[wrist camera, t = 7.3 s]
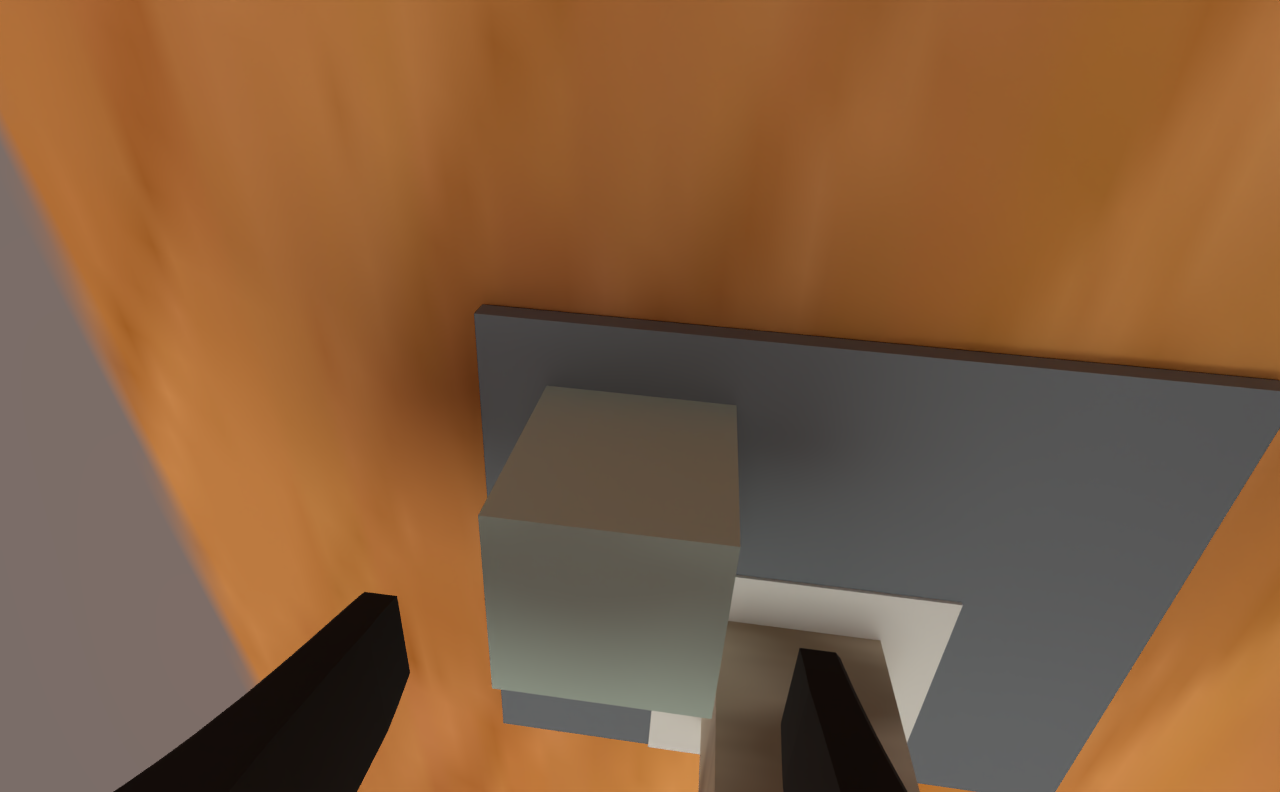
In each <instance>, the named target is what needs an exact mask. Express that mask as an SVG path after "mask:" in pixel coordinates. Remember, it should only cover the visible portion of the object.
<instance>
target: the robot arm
mask: <svg viewBox="0 0 1280 792" xmlns="http://www.w3.org/2000/svg"><path fill="white" fill-rule="evenodd" d="M409 674H410V670H409V664H408V658H407V652H406V647H405V641H404V635H403V629H402V623H401V617H400V611H399V605H398V600H397V596H392V595H384V594H376V593H368V592H364V593H363V594H361V595H360V596H359V597H358V598H357V599H355V600H354V601H353V602H352V603H351V604H350V605H348V606H347V607H346V608H345V609H344V610H343V611H342V612H341V613H339V614H338V615H337V616H336V617H335V618H334V619H333V620H331V621H330V622H329V623H328V624H327V625H326V626H325V627H324V628H322V629H321V630H320V631H319V632H318V633H317V634H316V635H315V636H313V637H312V638H311V639H310V640H309V641H308V642H307V643H305V644H304V645H303V646H302V647H301V648H300V649H298V650H297V651H296V652H295V653H294V654H293V655H292V656H290V657H289V658H288V659H287V660H286V661H284V662H283V663H282V664H281V665H280V666H279V667H277V668H276V669H275V670H274V671H273V672H271V673H270V674H269V675H268V676H267V677H266V678H264V679H263V680H262V681H261V682H260V683H258V684H257V685H256V686H255V687H254V688H252V689H251V690H250V691H249V692H248V693H246V694H245V695H244V696H243V697H241V698H240V699H239V700H238V701H236V702H235V703H234V704H233V705H231V706H230V707H229V708H227V709H226V710H225V711H224V712H222V713H221V714H220V715H218V716H217V717H216V718H215V719H213V720H212V721H211V722H210V723H208V724H207V725H206V726H204V727H203V728H202V729H201V730H199V731H198V732H197V733H196V734H194V735H193V736H192V737H190V738H189V739H187V740H186V741H185V742H183V743H182V744H181V745H179V746H178V747H177V748H175V749H174V750H173V751H171V752H170V753H168V754H167V755H166V756H164V757H163V758H162V759H160V760H159V761H157V762H156V763H155V764H153V765H152V766H150V767H149V768H147V769H146V770H144V771H143V772H142V773H140V774H139V775H137V776H136V777H134V778H133V779H132V780H130V781H129V782H127V783H126V784H125V785H123V786H122V787H120V788H118V789H117V790H115V791H114V792H357V790H358V789H359V787H360V785H361V783H362V781H363V779H364V777H365V775H366V773H367V771H368V769H369V767H370V765H371V763H372V761H373V759H374V757H375V755H376V753H377V751H378V749H379V748H380V746H381V744H382V742H383V740H384V738H385V735H386V733H387V731H388V729H389V727H390V724H391V722H392V719H393V717H394V714H395V712H396V709H397V706H398V704H399V701H400V699H401V696H402V693H403V690H404V688H405V685H406V682H407V679H408V677H409ZM781 753H782V780H783V792H907V790H906V788H905V786H904V784H903V783H902V781H901V779H900V777H899V775H898V774H897V772H896V770H895V768H894V766H893V764H892V763H891V761H890V759H889V757H888V755H887V754H886V752H885V750H884V748H883V746H882V744H881V742H880V740H879V738H878V737H877V735H876V733H875V731H874V729H873V727H872V725H871V723H870V721H869V719H868V717H867V715H866V713H865V711H864V709H863V707H862V704H861V702H860V700H859V698H858V696H857V694H856V692H855V690H854V688H853V685H852V683H851V681H850V679H849V676H848V674H847V672H846V670H845V667H844V665H843V663H842V660H841V658H840V657H839V656H838V655H837V653H836V652H829V651H821V650H813V649H806V648H799V652H798V656H797V660H796V664H795V668H794V672H793V676H792V680H791V684H790V688H789V692H788V696H787V700H786V704H785V708H784V712H783V716H782V720H781Z"/></svg>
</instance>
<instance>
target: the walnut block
mask: <svg viewBox="0 0 1280 792" xmlns="http://www.w3.org/2000/svg"><path fill="white" fill-rule="evenodd" d="M799 648H806V649H813V650H821V651H829V652H836V653H837V655H838V656H839V657H840V658H841V660H842V663H843V665H844V667H845V670H846V672H847V674H848V676H849V679H850V681H851V683H852V685H853V688H854V690H855V692H856V694H857V696H858V698H859V700H860V702H861V704H862V707H863V709H864V711H865V713H866V715H867V717H868V719H869V721H870V723H871V725H872V727H873V729H874V731H875V733H876V735H877V737H878V738H879V740H880V742H881V744H882V746H883V748H884V750H885V752H886V754H887V755H888V757H889V759H890V761H891V763H892V764H893V766H894V768H895V770H896V772H897V774H898V775H899V777H900V779H901V781H902V783H903V784H904V786H905V788H906V790H907V792H920V791H919V788H918V784H917V780H916V776H915V772H914V768H913V764H912V761H911V757H910V753H909V749H908V745H907V741H906V737H905V734H904V730H903V726H902V722H901V718H900V714H899V710H898V707H897V703H896V699H895V695H894V691H893V687H892V683H891V680H890V676H889V672H888V668H887V664H886V660H885V656H884V653H883V649H882V645H881V641H880V640H872V639H864V638H856V637H849V636H841V635H833V634H826V633H818V632H810V631H803V630H795V629H787V628H780V627H772V626H764V625H756V624H749V623H741V622H733V621H728V624H727V630H726V636H725V642H724V648H723V654H722V660H721V666H720V672H719V678H718V684H717V690H716V696H715V701H714V707H713V713H712V719H707V718H702V719H701V740H700V767H699V792H783V780H782V753H781V720H782V716H783V712H784V708H785V704H786V700H787V696H788V692H789V688H790V684H791V680H792V676H793V672H794V668H795V664H796V660H797V656H798V652H799Z"/></svg>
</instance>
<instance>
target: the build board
mask: <svg viewBox="0 0 1280 792" xmlns="http://www.w3.org/2000/svg"><path fill="white" fill-rule="evenodd" d="M474 319H475V333H476V347H477V361H478V374H479V388H480V402H481V416H482V430H483V444H484V458H485V472H486V486H487V498H488V496H489V494H490V492H491V490H492V488H493V486H494V485H495V483H496V481H497V479H498V477H499V475H500V473H501V471H502V469H503V468H504V466H505V464H506V462H507V460H508V458H509V456H510V454H511V452H512V450H513V449H514V447H515V445H516V443H517V441H518V439H519V437H520V435H521V433H522V431H523V430H524V428H525V426H526V424H527V422H528V420H529V418H530V416H531V414H532V413H533V411H534V409H535V407H536V405H537V403H538V401H539V399H540V397H541V395H542V394H543V392H544V390H545V388H546V386H556V387H565V388H575V389H584V390H594V391H604V392H613V393H623V394H632V395H642V396H652V397H661V398H671V399H680V400H690V401H700V402H709V403H719V404H728V405H736V407H737V442H738V477H739V512H740V553H739V559H738V565H737V571H736V577H735V583H734V589H733V595H732V601H731V607H730V612H729V618H728V621H733V622H741V623H749V624H756V625H764V626H772V627H780V628H787V629H795V630H803V631H810V632H818V633H826V634H833V635H841V636H849V637H856V638H864V639H872V640H880V641H881V645H882V649H883V653H884V656H885V660H886V664H887V668H888V672H889V676H890V680H891V683H892V687H893V691H894V695H895V699H896V703H897V707H898V710H899V714H900V718H901V722H902V726H903V730H904V734H905V737H906V741H907V745H908V749H909V753H910V757H911V761H912V764H913V768H914V772H915V776H916V780H917V783H921V784H928V785H935V786H942V787H949V788H956V789H962V790H969V791H976V792H1055V791H1056V790H1057V788H1058V786H1059V785H1060V783H1061V782H1062V780H1063V778H1064V777H1065V775H1066V773H1067V772H1068V770H1069V769H1070V767H1071V765H1072V764H1073V762H1074V760H1075V759H1076V757H1077V756H1078V754H1079V752H1080V751H1081V749H1082V748H1083V746H1084V744H1085V743H1086V741H1087V739H1088V738H1089V736H1090V735H1091V733H1092V731H1093V730H1094V728H1095V726H1096V725H1097V723H1098V722H1099V720H1100V718H1101V717H1102V715H1103V714H1104V712H1105V710H1106V709H1107V707H1108V705H1109V704H1110V702H1111V701H1112V699H1113V697H1114V696H1115V694H1116V692H1117V691H1118V689H1119V688H1120V686H1121V684H1122V683H1123V681H1124V679H1125V678H1126V676H1127V675H1128V673H1129V671H1130V670H1131V668H1132V667H1133V665H1134V663H1135V662H1136V660H1137V658H1138V657H1139V655H1140V654H1141V652H1142V650H1143V649H1144V647H1145V645H1146V644H1147V642H1148V641H1149V639H1150V637H1151V636H1152V634H1153V632H1154V631H1155V629H1156V628H1157V626H1158V624H1159V623H1160V621H1161V620H1162V618H1163V616H1164V615H1165V613H1166V611H1167V610H1168V608H1169V607H1170V605H1171V603H1172V602H1173V600H1174V598H1175V597H1176V595H1177V594H1178V592H1179V590H1180V589H1181V587H1182V585H1183V584H1184V582H1185V581H1186V579H1187V577H1188V576H1189V574H1190V573H1191V571H1192V569H1193V568H1194V566H1195V564H1196V563H1197V561H1198V560H1199V558H1200V556H1201V555H1202V553H1203V551H1204V550H1205V548H1206V547H1207V545H1208V543H1209V542H1210V540H1211V538H1212V537H1213V535H1214V534H1215V532H1216V530H1217V529H1218V527H1219V526H1220V524H1221V522H1222V521H1223V519H1224V517H1225V516H1226V514H1227V513H1228V511H1229V509H1230V508H1231V506H1232V504H1233V503H1234V501H1235V500H1236V498H1237V496H1238V495H1239V493H1240V492H1241V490H1242V488H1243V487H1244V485H1245V483H1246V482H1247V480H1248V479H1249V477H1250V475H1251V474H1252V472H1253V470H1254V469H1255V467H1256V466H1257V464H1258V462H1259V461H1260V459H1261V457H1262V456H1263V454H1264V453H1265V451H1266V449H1267V448H1268V446H1269V445H1270V443H1271V441H1272V440H1273V438H1274V436H1275V435H1276V433H1277V432H1278V430H1279V428H1280V380H1270V379H1259V378H1249V377H1238V376H1228V375H1217V374H1207V373H1196V372H1186V371H1175V370H1165V369H1154V368H1144V367H1133V366H1123V365H1112V364H1102V363H1091V362H1081V361H1070V360H1060V359H1049V358H1039V357H1028V356H1018V355H1007V354H997V353H986V352H976V351H965V350H955V349H944V348H934V347H923V346H913V345H902V344H892V343H881V342H871V341H860V340H850V339H839V338H829V337H818V336H808V335H798V334H787V333H777V332H766V331H756V330H745V329H735V328H724V327H714V326H703V325H693V324H682V323H672V322H661V321H651V320H640V319H630V318H619V317H609V316H598V315H588V314H577V313H567V312H556V311H546V310H535V309H525V308H514V307H504V306H493V305H482V306H481V307H480V308H479V309H478V310H477V311H476V312H475V313H474ZM501 694H502V708H503V722H504V723H507V724H514V725H521V726H528V727H534V728H541V729H548V730H555V731H562V732H569V733H576V734H583V735H590V736H597V737H603V738H610V739H617V740H624V741H631V742H638V743H645V744H648V747H653V748H660V749H667V750H674V751H680V752H687V753H694V754H700V740H701V719H702V718H700V717H693V716H686V715H679V714H672V713H665V712H658V711H650V710H643V709H636V708H629V707H622V706H615V705H608V704H601V703H594V702H587V701H579V700H572V699H565V698H558V697H551V696H544V695H537V694H530V693H523V692H516V691H509V690H501Z"/></svg>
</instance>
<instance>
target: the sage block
mask: <svg viewBox="0 0 1280 792" xmlns="http://www.w3.org/2000/svg"><path fill="white" fill-rule="evenodd" d="M478 519H479V531H480V544H481V556H482V568H483V580H484V593H485V605H486V617H487V629H488V642H489V654H490V666H491V678H492V688H494V689H501V690H509V691H516V692H523V693H530V694H537V695H544V696H551V697H558V698H565V699H572V700H579V701H587V702H594V703H601V704H608V705H615V706H622V707H629V708H636V709H643V710H650V711H658V712H665V713H672V714H679V715H686V716H693V717H700V718H707V719H712V713H713V707H714V701H715V696H716V690H717V684H718V678H719V672H720V666H721V660H722V654H723V648H724V642H725V636H726V630H727V624H728V618H729V612H730V607H731V601H732V595H733V589H734V583H735V577H736V571H737V565H738V559H739V553H740V512H739V477H738V442H737V407H736V405H728V404H719V403H709V402H700V401H690V400H680V399H671V398H661V397H652V396H642V395H632V394H623V393H613V392H604V391H594V390H584V389H575V388H565V387H556V386H546V388H545V390H544V392H543V394H542V395H541V397H540V399H539V401H538V403H537V405H536V407H535V409H534V411H533V413H532V414H531V416H530V418H529V420H528V422H527V424H526V426H525V428H524V430H523V431H522V433H521V435H520V437H519V439H518V441H517V443H516V445H515V447H514V449H513V450H512V452H511V454H510V456H509V458H508V460H507V462H506V464H505V466H504V468H503V469H502V471H501V473H500V475H499V477H498V479H497V481H496V483H495V485H494V486H493V488H492V490H491V492H490V494H489V496H488V498H487V500H486V502H485V504H484V505H483V507H482V509H481V511H480V513H479V515H478Z"/></svg>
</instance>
